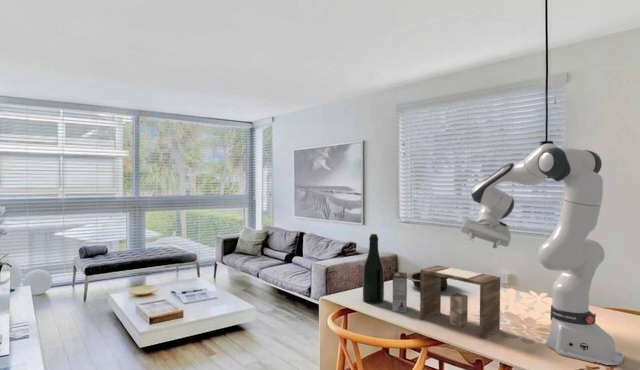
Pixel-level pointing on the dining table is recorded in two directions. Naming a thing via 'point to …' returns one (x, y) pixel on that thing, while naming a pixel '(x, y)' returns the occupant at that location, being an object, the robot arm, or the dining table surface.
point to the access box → (488, 283)
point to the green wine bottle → (373, 274)
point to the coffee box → (399, 291)
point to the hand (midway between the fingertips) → (483, 243)
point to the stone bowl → (416, 280)
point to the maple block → (458, 309)
